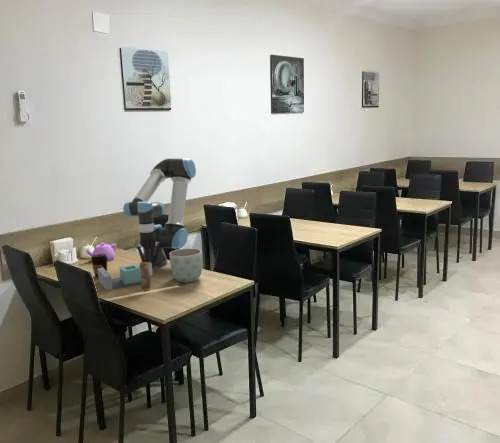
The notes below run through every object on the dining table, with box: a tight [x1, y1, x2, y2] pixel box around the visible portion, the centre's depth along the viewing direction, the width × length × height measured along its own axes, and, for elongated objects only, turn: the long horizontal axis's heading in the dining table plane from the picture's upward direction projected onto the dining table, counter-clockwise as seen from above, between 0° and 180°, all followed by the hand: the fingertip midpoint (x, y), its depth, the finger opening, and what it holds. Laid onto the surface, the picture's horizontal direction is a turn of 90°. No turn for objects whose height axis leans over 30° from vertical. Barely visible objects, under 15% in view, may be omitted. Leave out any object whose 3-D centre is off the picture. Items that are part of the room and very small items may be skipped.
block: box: [119, 263, 141, 284], centre depth 252 cm, size 9×9×7 cm
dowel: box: [139, 262, 151, 292], centre depth 240 cm, size 4×4×14 cm
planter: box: [168, 247, 203, 284], centre depth 253 cm, size 17×17×15 cm
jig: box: [98, 268, 142, 292], centre depth 251 cm, size 21×18×8 cm
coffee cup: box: [90, 254, 108, 279], centre depth 262 cm, size 9×8×13 cm
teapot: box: [85, 242, 118, 262], centre depth 301 cm, size 14×20×11 cm
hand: (150, 274), depth 258 cm, fingers closed
